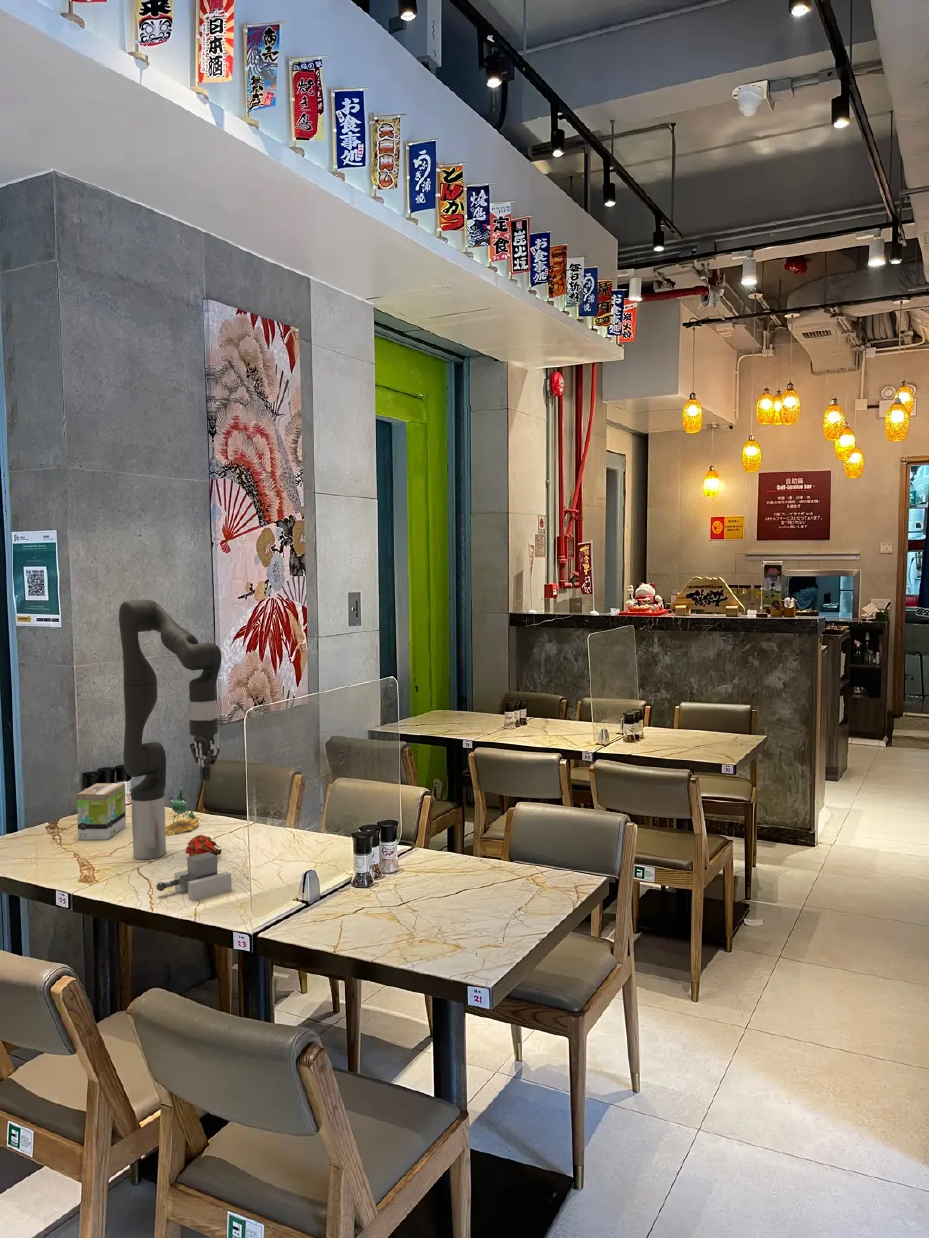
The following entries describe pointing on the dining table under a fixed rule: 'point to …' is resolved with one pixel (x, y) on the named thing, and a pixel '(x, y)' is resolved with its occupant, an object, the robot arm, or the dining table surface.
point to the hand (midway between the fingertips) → (205, 779)
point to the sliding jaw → (176, 882)
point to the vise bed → (209, 886)
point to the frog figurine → (180, 808)
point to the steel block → (201, 866)
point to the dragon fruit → (202, 846)
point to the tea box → (101, 811)
